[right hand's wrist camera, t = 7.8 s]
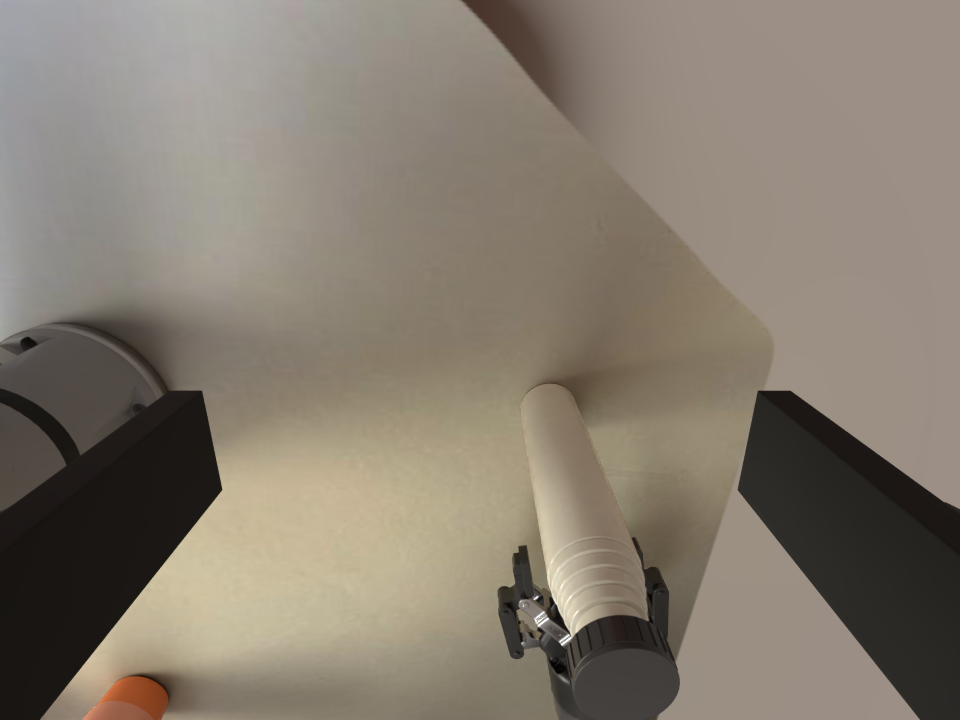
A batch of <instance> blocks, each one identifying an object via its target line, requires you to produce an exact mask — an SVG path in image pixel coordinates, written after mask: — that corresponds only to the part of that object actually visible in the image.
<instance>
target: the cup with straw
mask: <svg viewBox="0 0 960 720" xmlns="http://www.w3.org/2000/svg"><path fill="white" fill-rule="evenodd" d="M168 701H169V700H168V695H167V693H166V691H165V690H164V688H163V687H162V686H161V685H159V684H158V683H156V682H155V681H153V680H151V679H148V678H144V677H138V676H131V677H126V678H123V679H120V680H119V681H117V682H116V683H115V684H114V685H113V686H112V688H111V689H110V690H109V691H108V692H107V693H106V695H105V696H104V697H103V698H102V699H101V701H100V702H99V703H98V704H97V705H96V706H94V707H93V708H92V709H91V710H90V711H89V712H88V714H87V715H86V716H85V717H84V718H83V720H161V719H162V717H163V714H164V712H165V710H166V708H167V706H168Z"/></svg>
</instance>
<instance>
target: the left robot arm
mask: <svg viewBox="0 0 960 720" xmlns="http://www.w3.org/2000/svg"><path fill="white" fill-rule="evenodd" d="M632 541H633V543H634V546H635V548H636V551H637V553H638V556H639V558H640V561H641V564H642V570H643V573H644V577H645V589H646V602H647V607H648V611H647V615H648V619H649V622H650V623H652V624H653V625H654V626H656V627H658V628H659V630H660V631H661V633H662V634H663V636H664V635H665V637H666V639H667V637H668V604H669V591H668V589H667V587H666V585H665V582H664V580H663V578H662V576H661V573H660V571H659V569H658V568H656V567H650V568H648V569H647V570H645V569H644V566H643V553H642V551H641V549H640V546H639V544H638V542H637V540H636V538H635V537H633V538H632ZM518 547H519V553H514V554H513V557H512V563H513V572H514V578H515V585H514V586H512V587H510V588H509V587H507V586H502V587H500V588H499V589H498V599H499V608H498V612H499V617H500V621H501V624H502V628H503V631H504V635H505V638H506V642H507V645H508V649H509V652H510V656H511V657H512V658H514V659H520V658H522V657H523V655H524V649H529V648H535V647H540V648H541V649H542V650H543V651H544V652H545V653H546V656H547V662H548V668H549V674H550V679H551V690H552V693H553V697H554V703H555V708H556V712H557V715H558V718H559V720H596V719H594V718H592V717H590V716H589V715H587V714H586V713H585V712H584V711H582V710H581V708H580V707H579V706H578V705H577V703H576V701H575V698H574V695H573V689H572V688H571V687H570V681H569V675H568V669H567V664H566V662H567V658H566V652H567V650H568V646H569V643H570V641H571V640H572V637H571V634H570V631H569V630H568V628H567V627H566V625H565V622H564V619H563V617H562V616H561V614H560V612H559V610H558V607H557V605H556V603H555V602H554V600H553V597H552V594H551V593H550V592H549V591H548V590H546V589H545V588H542V589H540V588H539V587H537V586H536V585H535V584H534V583H533V582H532V574H531V569H530V563H529V557H528V551H527V545H524V546H518ZM518 609H521V610H523V611H524V612H525V613H527V614H528V615H529V616H531V617H532V618H533V619H534V620H535V621H536V623H537V625H538V629H537V631H533V630H531V629H530V628H529V626H528V625H527V624H525V622H524V620H520V621H519V618H518V614H517V611H516V610H518Z"/></svg>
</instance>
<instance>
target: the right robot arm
mask: <svg viewBox="0 0 960 720" xmlns="http://www.w3.org/2000/svg"><path fill="white" fill-rule="evenodd" d="M221 491H222V486H221V481H220V476H219V471H218V466H217V461H216V456H215V452H214V447H213V442H212V437H211V432H210V427H209V422H208V417H207V413H206V408H205V403H204V398H203V393H202V391H169V392H167V390H166V388H165V387H164V385H163V383H162V381H161V380H160V378H159V377H158V375H157V374H156V372H155V371H154V370H153V369H152V367H151V366H150V365H149V364H148V363H147V362H146V361H145V360H144V359H143V358H142V357H141V356H140V355H139V354H138V353H136V352H135V351H134V350H133V349H131V348H130V347H129V346H127V345H126V344H124V343H123V342H121V341H119V340H118V339H116V338H114V337H112V336H110V335H108V334H106V333H103V332H101V331H98V330H95V329H92V328H89V327H85V326H80V325H74V324H47V325H41V326H37V327H34V328H31V329H28V330H25V331H23V332H20V333H17V334H15V335H13V336H10V337H8V338H7V339H5V340H3V341H2V342H1V343H0V720H40V719H41V718H42V716H43V715H44V714H45V713H46V711H47V710H48V709H49V708H50V706H51V705H52V704H53V703H54V701H55V700H56V699H57V698H58V696H59V695H60V694H61V692H62V691H63V690H64V689H65V687H66V686H67V685H68V684H69V682H70V681H71V680H72V679H73V677H74V676H75V675H76V674H77V672H78V671H79V670H80V669H81V667H82V666H83V665H84V664H85V662H86V661H87V660H88V658H89V657H90V656H91V655H92V653H93V652H94V651H95V650H96V648H97V647H98V646H99V645H100V643H101V642H102V641H103V640H104V638H105V637H106V636H107V635H108V633H109V632H110V631H111V629H112V628H113V627H114V626H115V624H116V623H117V622H118V621H119V619H120V618H121V617H122V616H123V614H124V613H125V612H126V611H127V609H128V608H129V607H130V606H131V604H132V603H133V602H134V601H135V599H136V598H137V597H138V595H139V594H140V593H141V592H142V590H143V589H144V588H145V587H146V585H147V584H148V583H149V582H150V580H151V579H152V578H153V577H154V575H155V574H156V573H157V572H158V570H159V569H160V568H161V567H162V565H163V564H164V563H165V561H166V560H167V559H168V558H169V556H170V555H171V554H172V553H173V551H174V550H175V549H176V548H177V546H178V545H179V544H180V543H181V541H182V540H183V539H184V538H185V536H186V535H187V534H188V533H189V531H190V530H191V529H192V527H193V526H194V525H195V524H196V522H197V521H198V520H199V519H200V517H201V516H202V515H203V514H204V512H205V511H206V510H207V509H208V507H209V506H210V505H211V504H212V502H213V501H214V500H215V498H216V497H217V496H218V495H219V493H220V492H221ZM738 491H739V492H740V493H741V495H742V496H743V497H744V498H745V500H746V501H747V502H748V504H749V505H750V506H751V507H752V509H753V510H754V511H755V512H756V514H757V515H758V516H759V517H760V519H761V520H762V521H763V522H764V524H765V525H766V526H767V527H768V529H769V530H770V531H771V532H772V534H773V535H774V536H775V538H776V539H777V540H778V541H779V543H780V544H781V545H782V546H783V548H784V549H785V550H786V551H787V553H788V554H789V555H790V556H791V558H792V559H793V560H794V561H795V563H796V564H797V565H798V567H799V568H800V569H801V570H802V572H803V573H804V574H805V575H806V577H807V578H808V579H809V580H810V582H811V583H812V584H813V585H814V587H815V588H816V589H817V590H818V592H819V593H820V594H821V595H822V597H823V598H824V599H825V601H826V602H827V603H828V604H829V606H830V607H831V608H832V609H833V611H834V612H835V613H836V614H837V616H838V617H839V618H840V619H841V621H842V622H843V623H844V624H845V626H846V627H847V628H848V630H849V631H850V632H851V633H852V635H853V636H854V637H855V638H856V640H857V641H858V642H859V643H860V645H861V646H862V647H863V648H864V650H865V651H866V652H867V653H868V655H869V656H870V657H871V658H872V660H873V661H874V662H875V664H876V665H877V666H878V667H879V669H880V670H881V671H882V672H883V674H884V675H885V676H886V677H887V679H888V680H889V681H890V682H891V684H892V685H893V686H894V687H895V689H896V690H897V691H898V692H899V694H900V695H901V696H902V698H903V699H904V700H905V701H906V703H907V704H908V705H909V706H910V707H911V709H912V710H913V711H914V713H915V714H916V715H917V716H918V718H919V719H920V720H960V509H958V508H956V507H954V506H952V505H950V504H948V503H946V502H943V501H941V500H940V499H939V498H937V497H936V496H935V495H933V494H932V493H931V492H929V491H928V490H926V489H925V488H924V487H922V486H921V485H920V484H918V483H917V482H915V481H914V480H913V479H911V478H910V477H909V476H907V475H906V474H904V473H903V472H902V471H900V470H899V469H897V468H896V467H895V466H893V465H892V464H891V463H889V462H888V461H886V460H885V459H884V458H882V457H881V456H880V455H878V454H877V453H875V452H874V451H873V450H871V449H870V448H869V447H867V446H866V445H864V444H863V443H862V442H860V441H859V440H858V439H856V438H855V437H853V436H852V435H851V434H849V433H848V432H847V431H845V430H844V429H842V428H841V427H840V426H838V425H837V424H835V423H834V422H833V421H831V420H830V419H829V418H827V417H826V416H825V415H823V414H822V413H820V412H819V411H817V410H816V409H815V408H813V407H812V406H811V405H809V404H808V403H807V402H805V401H804V400H802V399H801V398H800V397H798V396H797V395H795V394H794V393H793V392H791V391H758V393H757V398H756V403H755V408H754V413H753V417H752V422H751V427H750V432H749V437H748V442H747V447H746V452H745V456H744V461H743V466H742V471H741V476H740V481H739V486H738Z"/></svg>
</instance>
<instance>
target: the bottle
mask: <svg viewBox="0 0 960 720" xmlns="http://www.w3.org/2000/svg"><path fill="white" fill-rule="evenodd" d="M520 414H521V421H522V427H523V433H524V439H525V445H526V451H527V457H528V464H529V470H530V476H531V482H532V488H533V494H534V500H535V507H536V513H537V519H538V525H539V531H540V537H541V543H542V550H543V556H544V562H545V568H546V574H547V580H548V585H549V588H550V589H551V594H552V597H553V600H554V602H555V603H556V605H557V607H558V610H559V612H560V614H561V616H562V617H563V619H564V622H565V625H566V627H567V628H568V630H569V631H570V634H571V637H572V638H573V636H574V635H575V633H577V632H578V631H579V630H580V629H581V628H582V627H584V626H585V625H587V624H588V623H590V622H592V621H594V620H596V619H599V618H602V617H607V616H612V615H630V616H636V617H639V618H642V619H644V620H647V621H649V619H648V615H647V611H648V607H647V602H646V589H645V577H644V573H643V570H642V564H641V561H640V558H639V556H638V553H637V551H636V548H635V546H634V543H633V541H632V538H631V536H630V533H629V531H628V529H627V526H626V524H625V521H624V519H623V516H622V514H621V511H620V509H619V506H618V504H617V501H616V499H615V497H614V494H613V492H612V489H611V487H610V484H609V482H608V479H607V477H606V474H605V472H604V470H603V467H602V465H601V462H600V460H599V457H598V455H597V452H596V450H595V447H594V445H593V442H592V440H591V438H590V435H589V433H588V430H587V428H586V425H585V423H584V420H583V418H582V415H581V413H580V410H579V408H578V406H577V403H576V401H575V398H574V396H573V395H572V394H571V392H570V391H569V390H567V389H566V388H565V387H563V386H560V385H557V384H542V385H539V386H536V387H535V388H533V389H531V390H530V391H529V392H528V393H527V394H526V395H525V396H524V398H523V400H522V402H521V406H520Z"/></svg>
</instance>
